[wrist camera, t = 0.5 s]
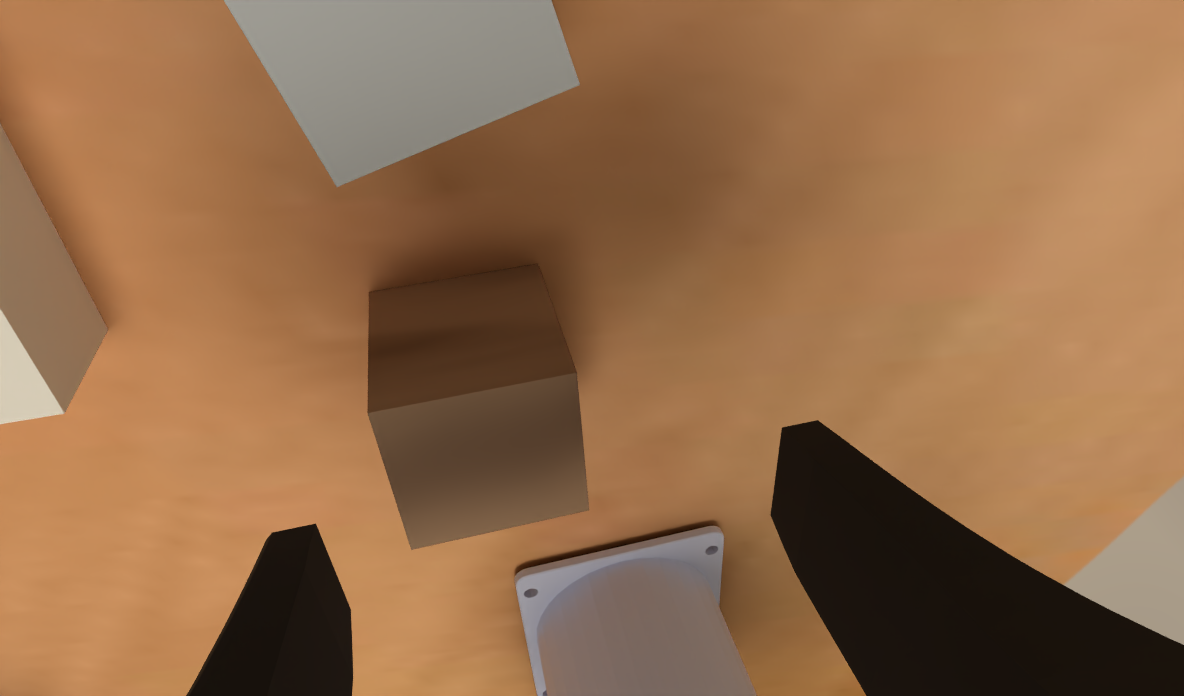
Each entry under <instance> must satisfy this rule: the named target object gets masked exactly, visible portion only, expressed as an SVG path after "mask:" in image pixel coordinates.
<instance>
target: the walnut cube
mask: <svg viewBox="0 0 1184 696" xmlns="http://www.w3.org/2000/svg"><path fill="white" fill-rule="evenodd" d="M368 416H369V419H370V422H371V425H372V428H373V431H374V435H375V438H376V441H377V444H378V447H379V450H380V453H381V456H382V460H383V463H384V466H385V469H386V472H387V475H388V478H389V481H390V485H391V488H392V491H393V494H394V497H395V500H396V503H397V506H398V510H399V513H400V516H401V519H402V522H403V525H404V528H405V531H406V535H407V538H408V541H409V544H410V547H411V550H413V549H417V548H422V547H426V546H431V545H435V544H440V543H444V542H449V541H453V540H458V539H462V538H467V537H471V536H476V535H480V534H485V533H489V532H494V531H498V530H503V529H507V528H512V527H516V526H521V525H525V524H530V523H534V522H539V521H543V520H547V519H552V518H556V517H561V516H565V515H570V514H574V513H579V512H583V511H588V510H589V502H588V491H587V480H586V469H585V458H584V447H583V436H582V425H581V414H580V403H579V392H578V381H577V372H576V369H575V366H574V364H573V361H572V358H571V355H570V352H569V350H568V347H567V344H566V341H565V338H564V336H563V333H562V330H561V327H560V324H559V322H558V319H557V316H556V313H555V310H554V308H553V305H552V302H551V299H550V296H549V294H548V291H547V288H546V285H545V282H544V280H543V277H542V274H541V271H540V268H539V266H538V264H533V265H527V266H521V267H515V268H509V269H503V270H497V271H492V272H486V273H480V274H474V275H468V276H462V277H456V278H450V279H444V280H438V281H432V282H427V283H421V284H415V285H409V286H403V287H397V288H391V289H385V290H379V291H373V292H369V338H368Z"/></svg>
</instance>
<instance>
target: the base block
mask: <svg viewBox="0 0 1184 696" xmlns="http://www.w3.org/2000/svg"><path fill="white" fill-rule="evenodd" d="M107 331H108V328H107V326H106V325H105V323H104V321H103V319H102V317H101V315H100V313H99V311H98V309H97V307H96V305H95V303H94V302H93V300H92V298H91V296H90V294H89V292H88V290H87V288H86V286H85V284H84V282H83V281H82V279H81V277H80V275H79V273H78V271H77V269H76V267H75V265H74V263H73V261H72V259H71V258H70V256H69V254H68V252H67V250H66V248H65V246H64V244H63V242H62V240H61V238H60V236H59V235H58V233H57V231H56V229H55V227H54V225H53V223H52V221H51V219H50V217H49V215H48V213H47V212H46V210H45V208H44V206H43V204H42V202H41V200H40V198H39V196H38V194H37V192H36V191H35V189H34V187H33V185H32V183H31V181H30V179H29V177H28V175H27V173H26V171H25V169H24V168H23V166H22V164H21V162H20V160H19V158H18V156H17V154H16V152H15V150H14V148H13V146H12V145H11V143H10V141H9V139H8V137H7V135H6V133H5V131H4V129H3V127H2V125H1V123H0V424H4V423H10V422H16V421H22V420H28V419H34V418H40V417H46V416H52V415H58V414H64V413H65V412H66V410H67V408H68V406H69V404H70V402H71V400H72V398H73V396H74V394H75V392H76V391H77V389H78V387H79V385H80V383H81V381H82V379H83V377H84V375H85V373H86V371H87V369H88V368H89V366H90V364H91V362H92V360H93V358H94V356H95V354H96V352H97V350H98V348H99V346H100V345H101V343H102V341H103V339H104V337H105V335H106V333H107Z"/></svg>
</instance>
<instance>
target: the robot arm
mask: <svg viewBox="0 0 1184 696" xmlns="http://www.w3.org/2000/svg"><path fill="white" fill-rule="evenodd" d="M771 517H772V519H773V522H774V524H775V527H776V529H777V532H778V534H779V536H780V539H781V541H782V544H783V546H784V548H785V551H786V553H787V555H788V558H789V560H790V562H791V564H792V567H793V569H794V571H795V573H796V575H797V577H798V578H799V580H800V582H801V584H802V586H803V587H804V589H805V591H806V593H807V594H808V596H809V598H810V600H811V601H812V603H813V605H814V606H815V608H816V610H817V612H818V613H819V615H820V617H821V619H822V620H823V622H824V624H825V625H826V627H827V629H828V631H829V632H830V634H831V636H832V637H833V639H834V641H835V643H836V644H837V646H838V648H839V649H840V651H841V653H842V655H843V656H844V658H845V660H846V661H847V663H848V665H849V667H850V668H851V670H852V672H853V673H854V675H855V677H856V679H857V680H858V682H859V684H860V685H861V687H862V689H863V691H864V692H865V694H866V696H1184V645H1182V644H1180V643H1178V642H1176V641H1173V640H1171V639H1169V638H1167V637H1165V636H1163V635H1161V634H1159V633H1157V632H1155V631H1152V630H1150V629H1148V628H1146V627H1144V626H1142V625H1140V624H1138V623H1136V622H1134V621H1132V620H1130V619H1128V618H1125V617H1123V616H1121V615H1119V614H1117V613H1115V612H1113V611H1111V610H1109V609H1107V608H1105V607H1103V606H1101V605H1099V604H1097V603H1096V602H1094V601H1091V600H1090V599H1088V598H1086V597H1084V596H1082V595H1080V594H1078V593H1076V592H1074V591H1073V590H1071V589H1069V588H1067V587H1066V586H1064V585H1062V584H1060V583H1058V582H1057V581H1055V580H1053V579H1051V578H1049V577H1048V576H1046V575H1044V574H1042V573H1040V572H1039V571H1037V570H1035V569H1033V568H1031V567H1030V566H1028V565H1026V564H1025V563H1023V562H1021V561H1020V560H1018V559H1016V558H1015V557H1013V556H1011V555H1010V554H1008V553H1006V552H1005V551H1003V550H1002V549H1000V548H998V547H997V546H995V545H994V544H992V543H990V542H989V541H987V540H986V539H984V538H983V537H981V536H979V535H978V534H976V533H975V532H973V531H972V530H970V529H968V528H967V527H965V526H964V525H962V524H961V523H959V522H958V521H956V520H955V519H953V518H952V517H950V516H949V515H947V514H946V513H944V512H943V511H941V510H940V509H938V508H937V507H936V506H934V505H933V504H931V503H930V502H928V501H927V500H926V499H924V498H923V497H921V496H920V495H918V494H917V493H916V492H914V491H913V490H911V489H910V488H909V487H907V486H906V485H904V484H903V483H902V482H900V481H899V480H897V479H896V478H895V477H893V476H892V475H891V474H889V473H888V472H887V471H885V470H884V469H883V468H881V467H880V466H878V465H877V464H876V463H874V462H873V461H872V460H870V459H869V458H868V457H866V456H865V455H864V454H862V453H861V452H860V451H858V450H857V449H856V448H854V447H853V446H852V445H850V444H849V443H848V442H846V441H845V440H844V439H842V438H841V437H840V436H838V435H837V434H836V433H834V432H833V431H832V430H830V429H829V428H828V427H826V426H825V425H823V424H822V423H821V422H819V421H818V420H817V421H812V422H807V423H802V424H797V425H792V426H788V427H783V428H782V432H781V439H780V447H779V455H778V462H777V470H776V478H775V485H774V493H773V501H772V508H771ZM723 548H724V535H723V533H722V531H721V529H720V528H719V527H717V526H707V527H703V528H698V529H694V530H690V531H685V532H681V533H677V534H672V535H668V536H664V537H659V538H655V539H651V540H646V541H642V542H638V543H634V544H629V545H625V546H621V547H616V548H612V549H608V550H603V551H599V552H595V553H590V554H586V555H582V556H577V557H573V558H569V559H564V560H560V561H556V562H551V563H547V564H543V565H538V566H534V567H530V568H526V569H523V570H521V571H520V572H518V573H517V574H516V576H515V586H516V591H517V596H518V601H519V606H520V611H521V616H522V621H523V626H524V631H525V636H526V642H527V647H528V652H529V657H530V662H531V667H532V672H533V677H534V682H535V687H536V692H537V696H757V694H756V692H755V689H754V687H753V685H752V682H751V680H750V678H749V675H748V673H747V671H746V669H745V666H744V664H743V662H742V659H741V657H740V655H739V652H738V650H737V648H736V645H735V643H734V641H733V638H732V636H731V634H730V631H729V629H728V627H727V624H726V622H725V620H724V617H723V615H722V613H721V610H720V608H719V602H720V589H721V575H722V561H723ZM352 686H353V656H352V630H351V609H350V607H349V604H348V602H347V599H346V597H345V594H344V592H343V589H342V587H341V584H340V582H339V580H338V577H337V575H336V572H335V570H334V567H333V565H332V562H331V560H330V557H329V555H328V553H327V550H326V548H325V545H324V543H323V540H322V538H321V535H320V533H319V530H318V528H317V525H316V524H312V525H307V526H302V527H297V528H293V529H288V530H283V531H278V532H273V533H272V534H271V535H270V536H269V537H268V538H267V540H266V542H265V544H264V546H263V548H262V550H261V552H260V555H259V557H258V559H257V561H256V563H255V565H254V567H253V570H252V572H251V574H250V576H249V578H248V580H247V582H246V584H245V586H244V588H243V590H242V592H241V594H240V596H239V598H238V600H237V602H236V604H235V606H234V608H233V610H232V612H231V614H230V616H229V618H228V620H227V622H226V624H225V626H224V628H223V630H222V632H221V634H220V635H219V637H218V639H217V641H216V643H215V645H214V646H213V648H212V650H211V652H210V654H209V656H208V658H207V659H206V661H205V663H204V665H203V667H202V669H201V671H200V672H199V674H198V676H197V678H196V680H195V681H194V683H193V685H192V687H191V688H190V690H189V692H188V694H187V695H186V696H352Z"/></svg>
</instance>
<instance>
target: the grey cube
mask: <svg viewBox="0 0 1184 696" xmlns="http://www.w3.org/2000/svg"><path fill="white" fill-rule="evenodd" d="M224 1H225V3H226V5H227V6H228V8H229V10H230V11H231V13H232V15H233V16H234V18H235V20H236V21H237V23H238V24H239V26H240V28H241V29H242V31H243V33H244V34H245V36H246V38H247V39H248V41H249V43H250V44H251V46H252V48H253V49H254V51H255V53H256V54H257V56H258V58H259V59H260V61H261V62H262V64H263V66H264V67H265V69H266V71H267V72H268V74H269V76H270V77H271V79H272V81H273V82H274V84H275V86H276V87H277V89H278V91H279V92H280V94H281V95H282V97H283V99H284V100H285V102H286V104H287V105H288V107H289V109H290V110H291V112H292V114H293V115H294V117H295V119H296V120H297V122H298V124H299V125H300V127H301V129H302V130H303V132H304V133H305V135H306V137H307V138H308V140H309V142H310V143H311V145H312V147H313V148H314V150H315V152H316V153H317V155H318V157H319V158H320V160H321V162H322V163H323V165H324V166H325V168H326V170H327V171H328V173H329V175H330V176H331V178H332V180H333V181H334V183H335V185H336V186H337V187H338V186H341V185H343V184H346V183H348V182H350V181H353V180H355V179H357V178H360V177H362V176H365V175H367V174H369V173H372V172H374V171H376V170H379V169H381V168H384V167H386V166H388V165H391V164H393V163H395V162H398V161H400V160H403V159H405V158H407V157H410V156H412V155H414V154H417V153H419V152H422V151H424V150H426V149H429V148H431V147H433V146H436V145H438V144H441V143H443V142H445V141H448V140H450V139H452V138H455V137H457V136H460V135H462V134H464V133H467V132H469V131H471V130H474V129H476V128H479V127H481V126H483V125H486V124H488V123H491V122H493V121H495V120H498V119H500V118H502V117H505V116H507V115H510V114H512V113H514V112H517V111H519V110H521V109H524V108H526V107H529V106H531V105H533V104H536V103H538V102H540V101H543V100H545V99H548V98H550V97H552V96H555V95H557V94H559V93H562V92H564V91H567V90H569V89H571V88H574V87H576V86H578V85H580V83H579V80H578V77H577V75H576V72H575V69H574V66H573V63H572V60H571V57H570V54H569V51H568V48H567V45H566V42H565V39H564V36H563V33H562V30H561V27H560V24H559V21H558V18H557V15H556V12H555V9H554V6H553V4H552V1H551V0H224Z"/></svg>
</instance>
